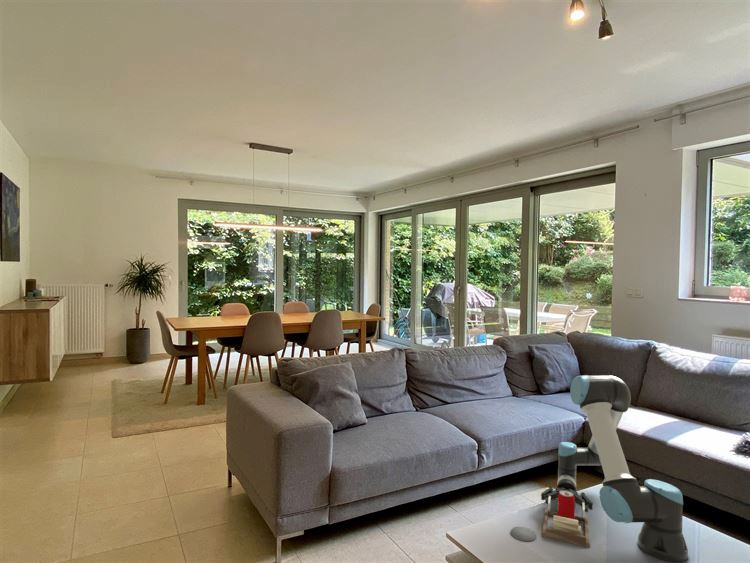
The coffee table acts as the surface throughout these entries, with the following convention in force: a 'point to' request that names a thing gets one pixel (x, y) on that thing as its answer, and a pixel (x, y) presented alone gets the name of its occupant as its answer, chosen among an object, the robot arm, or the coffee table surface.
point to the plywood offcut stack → (566, 525)
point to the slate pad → (523, 534)
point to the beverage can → (566, 504)
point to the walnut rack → (566, 535)
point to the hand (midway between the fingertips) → (566, 509)
